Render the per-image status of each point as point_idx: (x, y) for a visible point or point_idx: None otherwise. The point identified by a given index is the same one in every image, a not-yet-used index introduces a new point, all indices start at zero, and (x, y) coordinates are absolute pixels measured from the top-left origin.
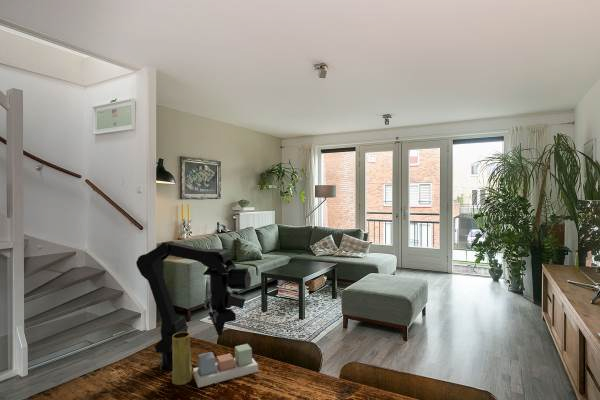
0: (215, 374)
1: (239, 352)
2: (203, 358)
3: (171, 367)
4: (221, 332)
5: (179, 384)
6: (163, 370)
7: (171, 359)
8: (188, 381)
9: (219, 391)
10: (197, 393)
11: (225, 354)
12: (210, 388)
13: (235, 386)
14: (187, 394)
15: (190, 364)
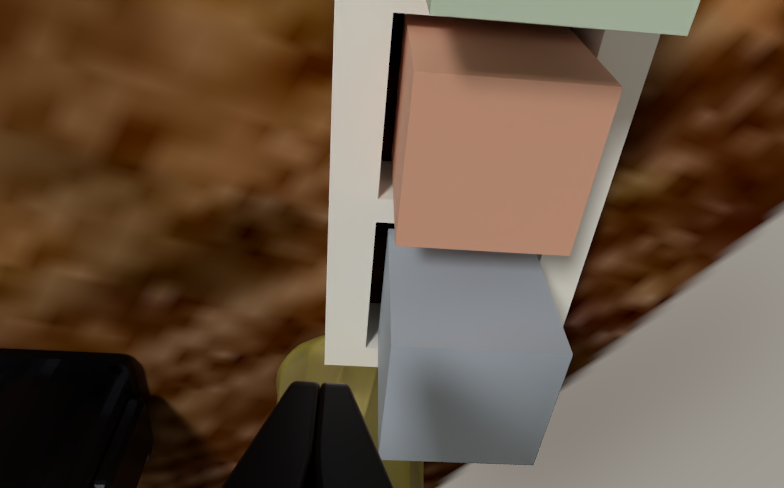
0: (570, 254)
1: (687, 19)
2: (504, 441)
3: (149, 426)
4: (366, 442)
5: None
6: (151, 450)
7: (128, 482)
8: None
9: (707, 228)
10: (599, 346)
11: (410, 142)
12: (609, 267)
13: (761, 94)
14: (560, 389)
15: None
